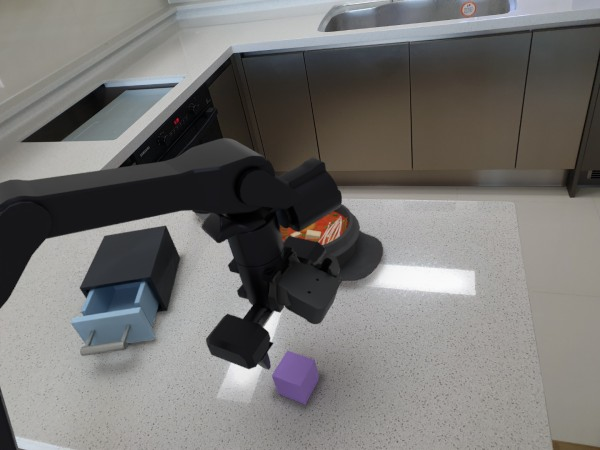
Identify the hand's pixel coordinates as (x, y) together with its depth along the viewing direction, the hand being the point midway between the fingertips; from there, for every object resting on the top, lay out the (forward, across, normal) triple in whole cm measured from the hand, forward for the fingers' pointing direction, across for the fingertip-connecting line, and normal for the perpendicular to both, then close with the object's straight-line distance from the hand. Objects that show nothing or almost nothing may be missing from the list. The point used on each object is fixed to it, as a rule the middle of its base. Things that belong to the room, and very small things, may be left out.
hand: (284, 339), depth 60 cm
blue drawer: (+10, -1, +34) cm, 35 cm away
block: (+11, 0, 0) cm, 11 cm away
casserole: (+11, +26, +10) cm, 30 cm away
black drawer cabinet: (+11, +8, +39) cm, 41 cm away
